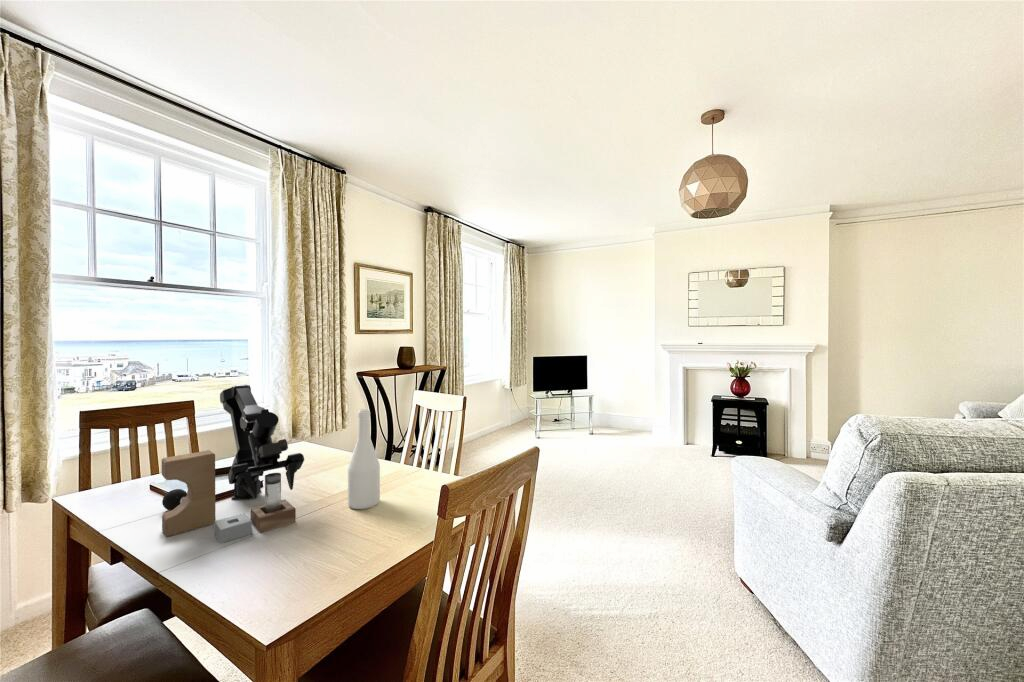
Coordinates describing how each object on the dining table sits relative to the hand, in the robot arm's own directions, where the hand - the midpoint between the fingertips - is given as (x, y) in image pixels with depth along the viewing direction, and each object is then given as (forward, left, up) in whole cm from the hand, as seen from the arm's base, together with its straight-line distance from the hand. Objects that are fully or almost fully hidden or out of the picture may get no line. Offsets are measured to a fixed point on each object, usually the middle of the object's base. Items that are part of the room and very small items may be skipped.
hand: (274, 493), depth 118 cm
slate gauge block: (-8, -5, -9) cm, 13 cm away
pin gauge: (-1, +1, -8) cm, 8 cm away
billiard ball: (-34, +13, -9) cm, 38 cm away
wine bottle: (+22, +12, -9) cm, 26 cm away
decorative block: (-22, 0, -9) cm, 24 cm away
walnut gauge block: (-1, +1, -9) cm, 9 cm away
